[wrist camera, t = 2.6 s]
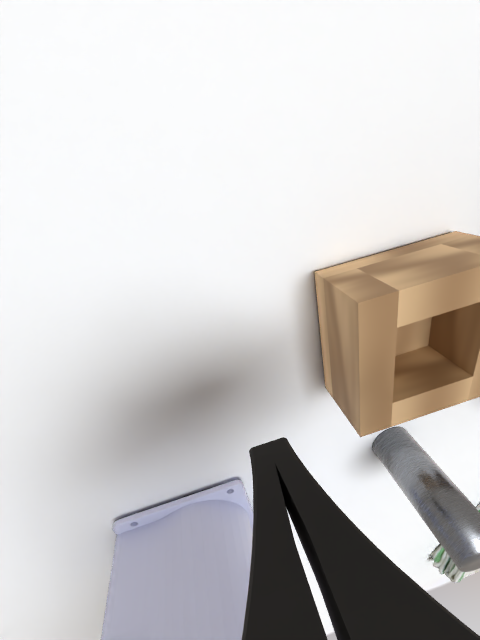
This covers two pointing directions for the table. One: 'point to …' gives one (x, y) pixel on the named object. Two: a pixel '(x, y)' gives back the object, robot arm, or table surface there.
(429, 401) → the block
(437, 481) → the dowel
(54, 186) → the table surface
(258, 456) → the robot arm
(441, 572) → the dish towel
